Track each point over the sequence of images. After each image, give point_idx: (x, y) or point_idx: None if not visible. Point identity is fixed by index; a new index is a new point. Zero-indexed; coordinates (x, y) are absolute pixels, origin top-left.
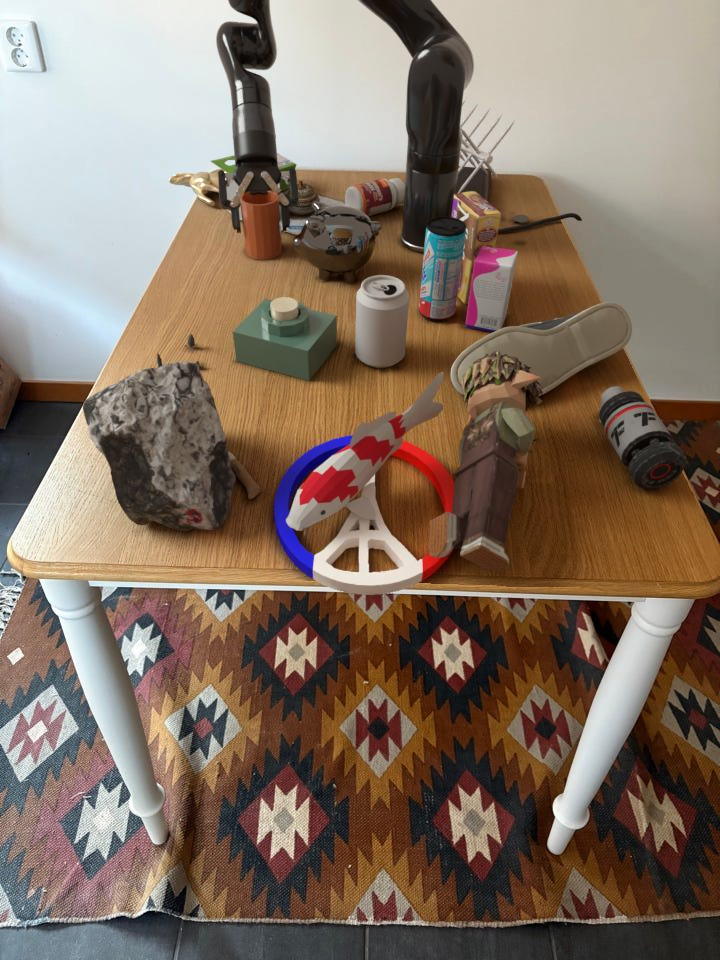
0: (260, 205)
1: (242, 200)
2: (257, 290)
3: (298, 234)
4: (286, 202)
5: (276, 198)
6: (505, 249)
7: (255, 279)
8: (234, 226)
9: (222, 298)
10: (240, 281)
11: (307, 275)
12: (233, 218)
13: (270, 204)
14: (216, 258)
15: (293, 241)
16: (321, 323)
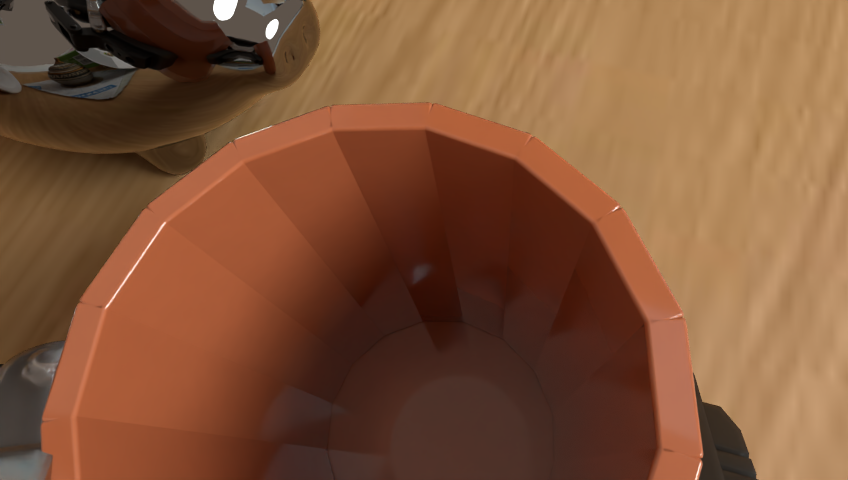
0: (430, 106)
1: (666, 339)
2: (587, 43)
3: (247, 2)
4: (48, 345)
5: (142, 237)
6: None
7: (575, 132)
8: (709, 406)
9: (771, 20)
10: (659, 134)
11: (316, 102)
12: (732, 471)
13: (292, 130)
14: (794, 453)
15: (306, 11)
16: None
